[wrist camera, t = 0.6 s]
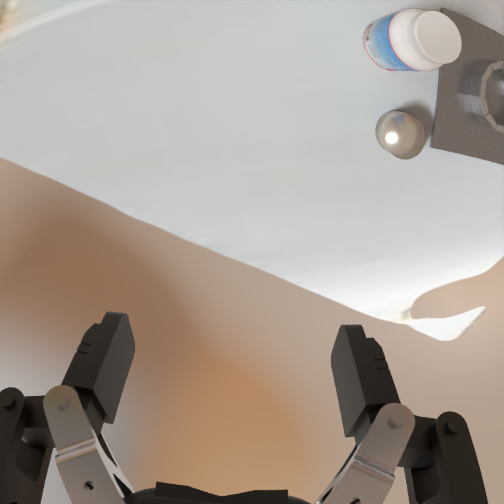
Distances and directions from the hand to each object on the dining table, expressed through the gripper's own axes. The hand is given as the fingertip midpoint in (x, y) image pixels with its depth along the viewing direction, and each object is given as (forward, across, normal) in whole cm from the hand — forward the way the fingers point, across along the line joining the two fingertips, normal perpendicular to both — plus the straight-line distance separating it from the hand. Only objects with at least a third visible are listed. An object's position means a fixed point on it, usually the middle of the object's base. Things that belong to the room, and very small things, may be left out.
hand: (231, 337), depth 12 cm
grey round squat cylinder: (+26, -17, -4) cm, 31 cm away
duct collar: (+26, -30, -13) cm, 42 cm away
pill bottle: (+26, -14, -14) cm, 33 cm away
